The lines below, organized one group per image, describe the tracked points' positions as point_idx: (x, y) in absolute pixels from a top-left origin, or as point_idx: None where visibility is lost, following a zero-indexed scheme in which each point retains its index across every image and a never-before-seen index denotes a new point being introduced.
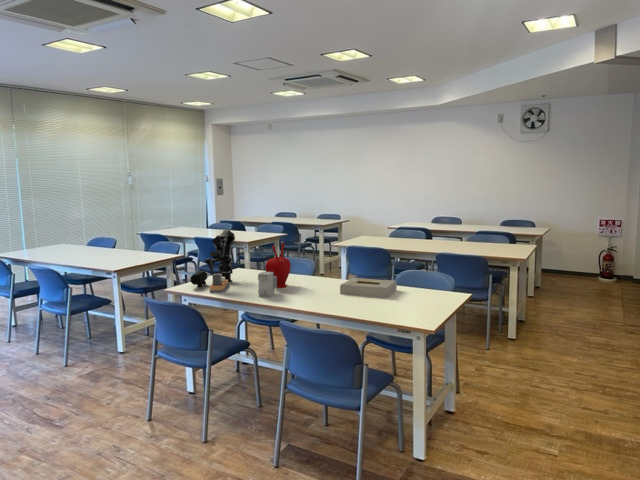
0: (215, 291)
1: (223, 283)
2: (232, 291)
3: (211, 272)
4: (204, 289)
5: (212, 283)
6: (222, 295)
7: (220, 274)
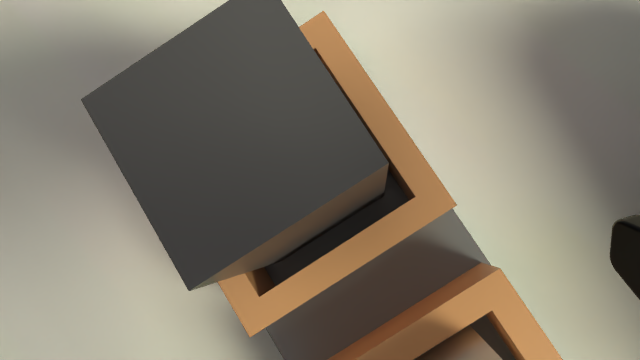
0: None
1: (240, 287)
2: (89, 264)
3: (621, 251)
4: (570, 148)
5: (435, 182)
6: (63, 27)
7: (128, 181)
